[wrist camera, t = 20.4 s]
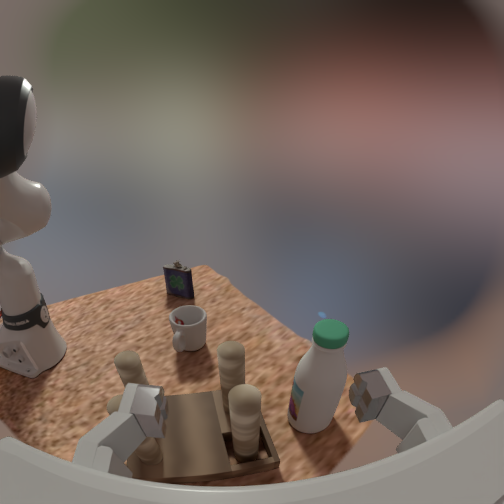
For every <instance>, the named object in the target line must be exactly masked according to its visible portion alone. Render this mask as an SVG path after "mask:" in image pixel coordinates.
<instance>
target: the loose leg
mask: <svg viewBox="0 0 504 504" xmlns="http://www.w3.org/2000/svg"><path fill="white" fill-rule="evenodd" d="M228 399H229V410H230V420H231V429H232V438H233V447H234V456H235V458H236V459H237V460H238V461H239V462H242V463H247V462H252V461H255V460H256V459H257V457H258V447H259V430H260V412H261V393H260V391H259V390H258V389H257V388H256V387H255V386H252V385H249V384H241V385H237V386H235V387H233V388H232V389H231V390H230V392H229V394H228Z"/></svg>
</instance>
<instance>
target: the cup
mask: <svg viewBox="0 0 504 504" xmlns="http://www.w3.org/2000/svg"><path fill="white" fill-rule="evenodd" d="M206 320H207V315H206V312H205V311H204V310H203V309H202V308H200V307H198V306H193V305H187V306H181V307H178V308H176V309H174V310H173V311H172V312H171V313H170V315H169V321H170V324H171V327H172V330H173V333H174V336H173V347H174V349H175V350H176V351H177V352H182V351H183V350H186V351H195V350H198V349H200V348H202V347H203V346H204V344H205V342H206Z"/></svg>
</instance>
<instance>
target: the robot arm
mask: <svg viewBox="0 0 504 504" xmlns="http://www.w3.org/2000/svg"><path fill="white" fill-rule="evenodd" d="M36 118H37V113H36V103H35V99H34V96H33V88H32V86H31V85H30V84H29V83H28V81H27V80H26V79H25V78H22V77H18V76H1V77H0V305H1V307H2V308H1V311H0V318H1V316H2V318H3V325H2V327H1V329H0V367H2V368H4V369H7V370H9V371H12V372H15V373H17V374H20V375H23V376H26V377H29V378H35V377H36V376H37V375H39V374H40V373H41V372H42V371H44V370H47V369H49V368H51V367H52V366H54V365H55V364H57V363H58V362H59V361H60V360H61V359H62V357H63V356H64V354H65V352H66V342H65V340H64V339H63V338H62V337H61V335H60V334H59V332H58V331H57V329H56V328H55V326H54V324H53V323H52V321H51V319H50V316H49V312H48V309H47V306H46V303H45V300H44V298H43V295H42V294H41V293H40V291H39V288H38V285H37V281H36V278H35V274H34V271H33V268H32V266H31V264H30V263H29V262H28V261H27V260H26V259H24V258H22V257H19V256H14V255H11V254H9V253H7V252H6V251H5V250H4V249H3V247H2V245H3V244H5V243H8V242H11V241H14V240H17V239H20V238H24V237H27V236H29V235H31V234H33V233H34V232H37V231H39V230H40V229H42V228H44V227H45V226H46V225H47V223H48V221H49V218H50V214H51V199H50V196H49V193H48V192H47V190H46V188H45V187H44V186H43V185H42V184H40V183H39V182H33V181H30V180H27V179H25V178H23V177H22V176H20V175H19V174H18V173H16V171H17V170H18V169H19V167H20V166H21V165H22V163H23V162H24V161H25V159H26V157H27V152H28V150H29V147H30V145H31V142H32V140H33V136H34V132H35V127H36ZM353 380H354V383H353V384H352V385H351V386H350V389H349V398H350V402H351V404H352V405H353V406H355V407H356V410H355V413H356V416H357V418H358V420H359V423H361V422H365V421H369V420H373V419H376V420H377V421H378V422H380V423H381V424H382V425H384V426H385V427H386V428H387V429H389V430H391V432H393V433H394V434H395V435H397V436H398V437H400V438H401V439H402V442H401V443H400V444H399V445H398V446H397V448H396V451H397V452H398V454H396V455H393V456H390V457H387V458H385V459H382V460H379V461H376V462H373V463H370V464H367V465H363V466H360V467H357V468H353V469H350V470H346V471H342V472H338V473H334V474H329V475H325V476H320V477H315V478H310V479H304V480H298V481H292V482H284V483H276V484H266V485H254V486H230V487H212V486H189V485H176V484H167V483H158V482H151V481H145V480H139V479H133V478H132V474H133V473H132V472H131V471H130V469H129V468H128V467H127V466H126V465H125V464H124V462H125V461H126V459H127V458H128V457H129V456H130V455H131V454H132V453H133V452H134V451H135V450H136V448H137V447H138V446H139V445H140V444H141V443H142V442H143V441H144V440H145V438H146V437H155V438H165V435H166V428H167V425H166V423H165V420H166V419H167V418H168V413H169V405H168V400H167V398H166V397H165V396H164V392H165V391H164V389H163V387H162V386H153V385H144V384H135V383H128V384H127V385H126V387H125V390H124V393H123V396H122V400H121V403H120V406H119V409H118V412H116V411H115V412H113V413H112V414H111V415H110V416H108V417H107V418H106V419H104V420H103V421H102V422H101V423H99V424H98V425H97V426H96V427H94V428H93V429H92V430H90V431H89V432H88V433H87V434H85V435H84V436H83V437H81V438H80V439H79V442H78V445H77V448H76V451H75V454H74V457H73V460H72V462H69V461H66V460H63V459H61V458H58V457H55V456H53V455H50V454H48V453H45V452H43V451H41V450H38V449H36V448H34V447H32V446H29V445H27V444H25V443H23V442H21V441H19V440H17V439H15V438H13V437H5V438H2V439H0V504H504V400H497V401H495V402H494V403H492V404H491V405H489V406H488V407H486V408H485V409H484V410H482V411H480V412H479V413H477V414H476V415H474V416H473V417H471V418H469V419H468V420H466V421H464V422H463V423H461V424H459V425H457V426H456V427H454V428H453V427H452V426H451V424H450V422H449V421H448V419H447V418H446V416H445V414H444V413H443V411H442V410H441V409H439V408H437V407H435V406H433V405H431V404H430V403H427V402H426V401H424V400H422V399H420V398H418V397H416V396H414V395H412V394H410V393H409V392H407V391H405V390H404V391H402V390H401V388H400V387H399V385H398V384H397V382H396V380H395V379H394V377H393V376H392V374H391V373H390V371H389V369H388V368H386V367H384V368H380V369H376V370H371V371H366V372H361V373H357V374H356V375H355V376H354V379H353Z"/></svg>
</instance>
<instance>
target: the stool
mask: <svg viewBox="0 0 504 504" xmlns="http://www.w3.org/2000/svg"><path fill="white" fill-rule="evenodd" d="M217 354H218V364H219V374H220V383H221V390H217V391H210V392H202V393H193V394H183V395H172V396H165V397H166V398H167V400H168V405H169V413H168V418H167V419H166V420H165V423H166V425H167V428H166V435H165V438H155V437H146V438H145V440H144V441H143V442H142V443H141V444H140V445H139V446H138V447H137V448H136V450H135V451H134V452H133V453H132V454H131V455H130V456H129V457H128V458H127V467H128V468H129V469H130V471H131V472H132V473H133V474H132V478H133V479H139V480H145V481H151V482H158V483H167V484H178V483H193V482H203V481H212V480H220V479H227V478H233V477H239V476H244V475H249V474H254V473H259V472H263V471H268V470H272V469H276V468H279V464H280V459H279V457H278V454H277V452H276V449H275V447H274V444H273V442H272V439H271V437H270V434H269V432H268V429H267V427H266V424H265V421H264V419H263V416H262V414H261V412H260V430H259V435H260V436H261V438H262V441H263V444H264V446H265V449H266V452H267V454H268V457H269V458H265V459H261V460H256V461H252V462H247V463H241V464H236V465H230V462H229V458H228V455H227V451H226V447H225V443H224V441H230V440H233V438H232V429H231V420H230V410H229V399H228V394H229V392H230V390H231V389H232V388H233V387H235V386H237V385H241V384H245V349H244V346H243V345H242V344H241V343H239V342H236V341H227V342H224V343H222V344H220V345H219V346H218V348H217ZM114 363H115V366H116V368H117V371H118V373H119V375H120V378H121V380H122V382H123V384H124V387H126V385H127V384H128V383H135V384H144V385H149V383H148V381H147V378H146V375H145V372H144V369H143V366H142V363H141V360H140V357H139V355H138V354H137V353H136V352H134V351H123V352H121V353H119V354H118V355H117V356H116V357H115V359H114ZM122 396H123V395H117V396H115V397H113V398H112V399H110V400H109V402H108V404H107V411H108V413H109V415H111V414H112V413H113V412H115V411H116V412H118V409H119V406H120V403H121V400H122Z"/></svg>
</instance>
